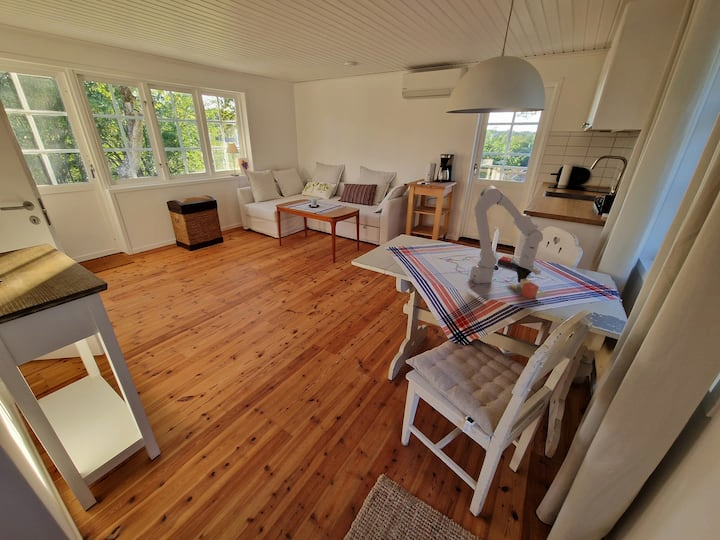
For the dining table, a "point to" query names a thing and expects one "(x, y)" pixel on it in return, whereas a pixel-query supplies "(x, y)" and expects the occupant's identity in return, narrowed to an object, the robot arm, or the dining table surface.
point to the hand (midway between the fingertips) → (520, 282)
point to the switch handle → (524, 282)
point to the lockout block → (529, 290)
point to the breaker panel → (518, 290)
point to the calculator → (508, 261)
